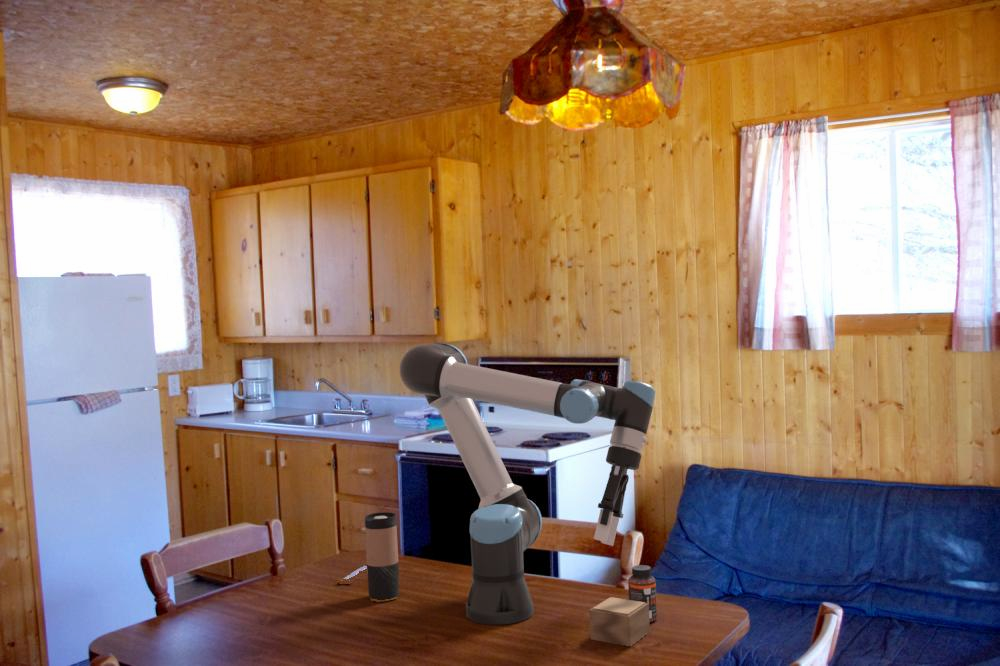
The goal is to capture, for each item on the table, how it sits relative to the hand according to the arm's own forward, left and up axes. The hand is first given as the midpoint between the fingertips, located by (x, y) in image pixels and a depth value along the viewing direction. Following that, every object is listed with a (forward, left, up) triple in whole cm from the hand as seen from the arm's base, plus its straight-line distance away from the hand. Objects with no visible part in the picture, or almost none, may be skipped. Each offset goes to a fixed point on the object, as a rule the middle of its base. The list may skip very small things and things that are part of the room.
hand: (603, 542), depth 193 cm
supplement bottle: (+9, 0, -16) cm, 18 cm away
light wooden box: (+9, -11, -16) cm, 21 cm away
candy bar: (-72, -3, -17) cm, 74 cm away
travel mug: (-53, -14, -16) cm, 57 cm away
